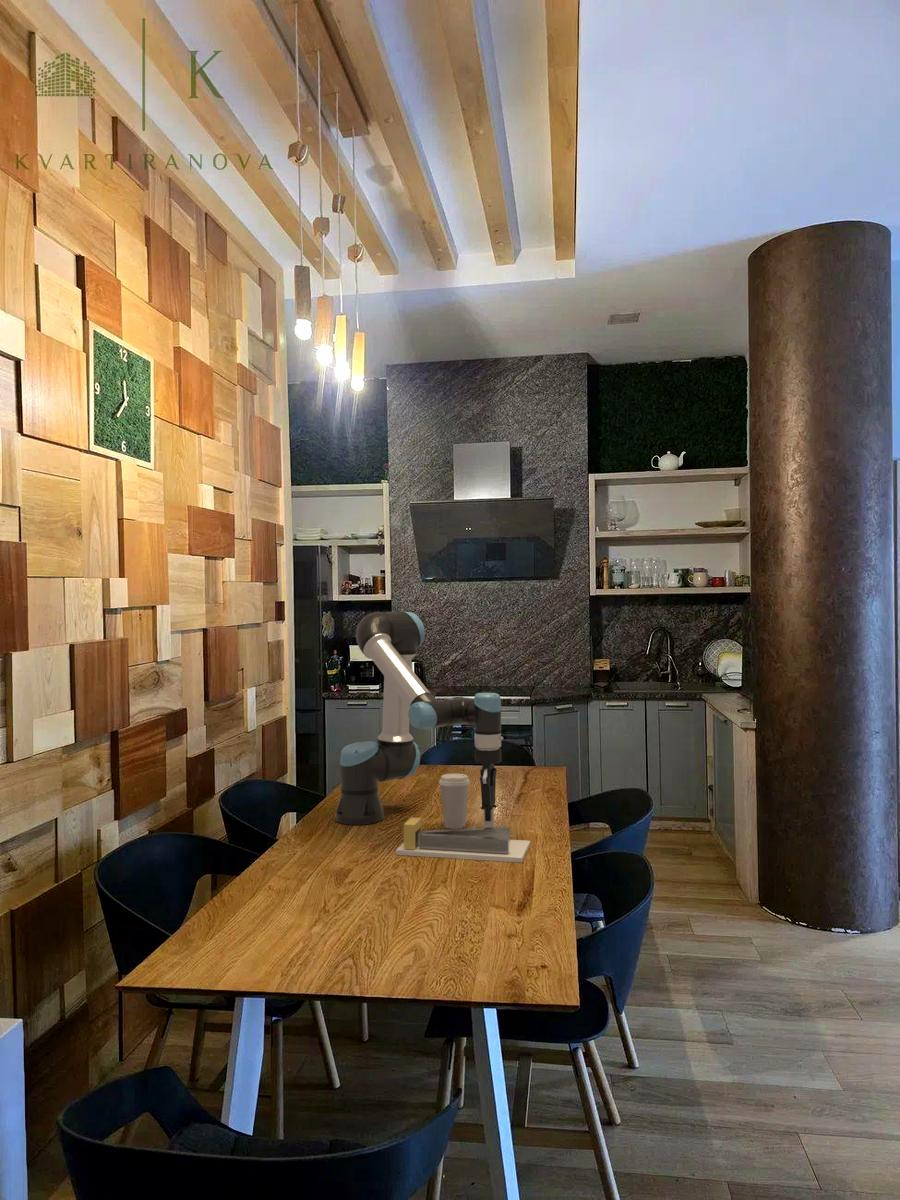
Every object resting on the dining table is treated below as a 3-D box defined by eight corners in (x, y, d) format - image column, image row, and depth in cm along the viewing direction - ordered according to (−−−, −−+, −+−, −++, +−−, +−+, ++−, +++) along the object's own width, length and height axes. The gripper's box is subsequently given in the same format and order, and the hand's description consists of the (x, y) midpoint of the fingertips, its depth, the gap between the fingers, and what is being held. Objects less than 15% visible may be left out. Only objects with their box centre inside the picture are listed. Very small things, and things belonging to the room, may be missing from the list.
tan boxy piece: (403, 848, 225) (403, 824, 225) (411, 840, 232) (411, 817, 232) (414, 849, 224) (414, 825, 224) (422, 841, 231) (421, 817, 231)
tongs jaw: (423, 845, 227) (423, 832, 227) (422, 843, 229) (422, 830, 229) (509, 841, 231) (509, 828, 231) (508, 839, 233) (508, 826, 233)
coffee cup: (433, 827, 251) (432, 777, 251) (448, 820, 260) (447, 771, 260) (461, 831, 247) (461, 780, 247) (476, 823, 255) (475, 774, 255)
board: (395, 854, 224) (395, 850, 224) (412, 838, 240) (412, 834, 240) (521, 862, 217) (521, 858, 217) (530, 845, 232) (530, 840, 232)
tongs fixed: (405, 847, 226) (405, 834, 226) (409, 842, 230) (409, 829, 230) (507, 853, 220) (507, 840, 220) (510, 848, 224) (510, 835, 224)
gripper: (497, 752, 230) (498, 838, 229) (505, 744, 242) (505, 826, 242) (470, 751, 231) (471, 837, 231) (479, 743, 244) (480, 825, 244)
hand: (488, 831), depth 237 cm, fingers closed
